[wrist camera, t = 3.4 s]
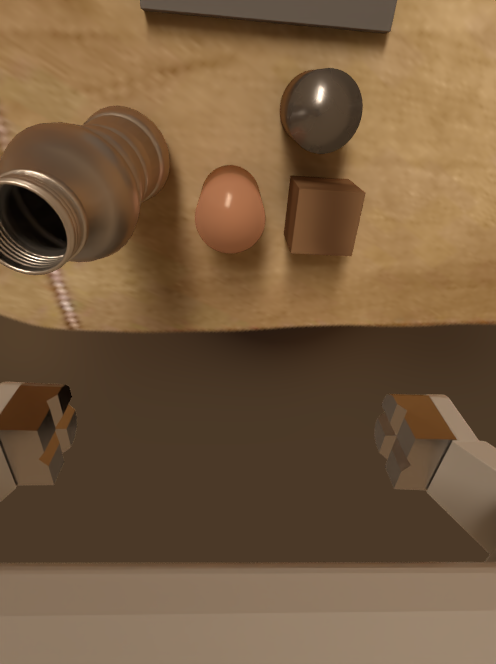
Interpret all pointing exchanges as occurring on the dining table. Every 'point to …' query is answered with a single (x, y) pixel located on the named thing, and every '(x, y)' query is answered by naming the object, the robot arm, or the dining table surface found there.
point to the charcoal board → (289, 12)
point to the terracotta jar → (230, 210)
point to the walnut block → (322, 215)
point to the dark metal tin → (321, 109)
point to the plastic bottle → (77, 188)
